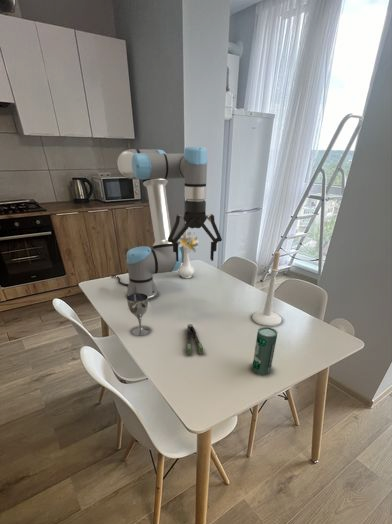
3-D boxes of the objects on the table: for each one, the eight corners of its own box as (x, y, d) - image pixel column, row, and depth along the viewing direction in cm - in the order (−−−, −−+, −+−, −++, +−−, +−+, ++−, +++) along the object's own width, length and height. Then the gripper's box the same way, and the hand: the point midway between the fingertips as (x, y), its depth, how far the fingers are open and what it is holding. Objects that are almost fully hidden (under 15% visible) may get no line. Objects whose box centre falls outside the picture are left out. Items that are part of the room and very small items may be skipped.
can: (253, 362, 106) (259, 325, 97) (271, 365, 104) (278, 328, 96) (251, 372, 101) (256, 334, 92) (269, 376, 99) (276, 338, 91)
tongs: (183, 329, 124) (183, 323, 123) (196, 328, 125) (196, 322, 123) (187, 355, 109) (187, 348, 107) (203, 354, 109) (203, 347, 108)
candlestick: (246, 319, 133) (254, 251, 116) (262, 310, 141) (272, 245, 124) (271, 329, 126) (284, 258, 109) (286, 318, 134) (300, 251, 117)
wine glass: (134, 337, 118) (130, 303, 110) (128, 328, 124) (124, 295, 116) (153, 333, 122) (150, 299, 113) (146, 324, 127) (143, 291, 119)
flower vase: (184, 283, 167) (184, 237, 153) (171, 273, 180) (169, 230, 167) (204, 280, 172) (206, 235, 158) (190, 270, 186) (190, 228, 172)
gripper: (227, 198, 109) (224, 256, 121) (159, 198, 106) (162, 257, 118) (232, 201, 103) (227, 262, 115) (159, 201, 100) (162, 263, 112)
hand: (194, 260), depth 116 cm, fingers open, 13 cm apart
